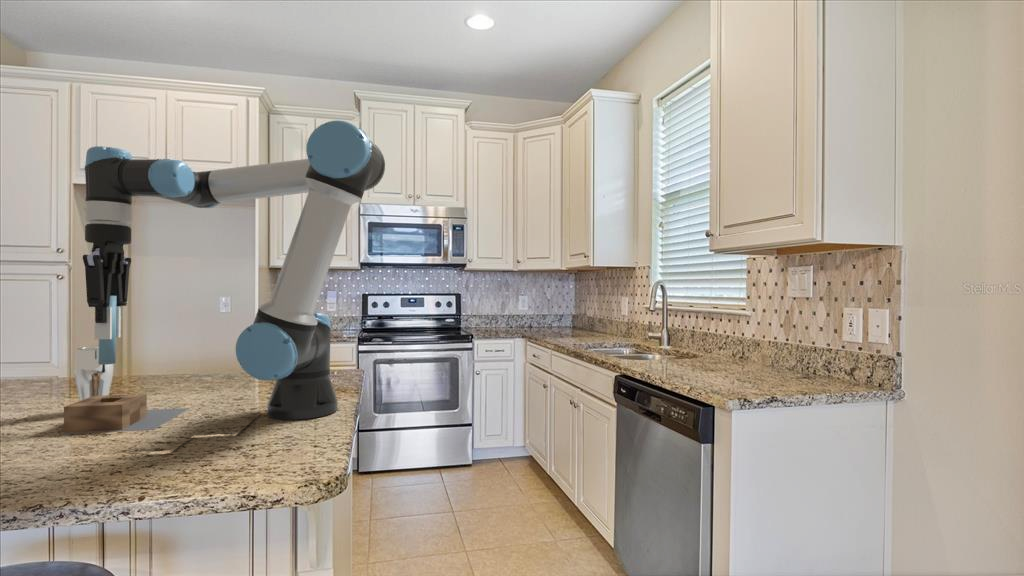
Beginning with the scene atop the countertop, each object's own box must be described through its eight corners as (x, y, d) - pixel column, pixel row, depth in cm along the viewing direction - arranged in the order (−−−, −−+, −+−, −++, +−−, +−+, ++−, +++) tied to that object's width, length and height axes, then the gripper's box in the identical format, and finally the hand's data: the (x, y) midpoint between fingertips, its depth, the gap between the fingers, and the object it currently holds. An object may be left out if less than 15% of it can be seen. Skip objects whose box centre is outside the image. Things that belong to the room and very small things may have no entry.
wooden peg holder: (146, 416, 112) (146, 394, 112) (122, 429, 102) (122, 404, 102) (93, 419, 110) (93, 395, 110) (63, 432, 100) (63, 406, 100)
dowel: (118, 362, 107) (119, 295, 107) (110, 364, 105) (111, 296, 105) (103, 362, 107) (104, 295, 107) (95, 364, 104) (96, 295, 104)
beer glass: (96, 418, 113) (96, 350, 113) (65, 417, 113) (65, 349, 113) (121, 410, 120) (121, 346, 120) (91, 409, 120) (92, 345, 120)
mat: (189, 410, 120) (190, 408, 120) (153, 432, 102) (153, 429, 102) (111, 413, 116) (111, 411, 116) (60, 437, 99) (60, 433, 99)
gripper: (109, 227, 113) (108, 334, 113) (63, 219, 97) (62, 342, 97) (147, 228, 114) (146, 334, 114) (108, 220, 99) (107, 342, 99)
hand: (107, 338), depth 106 cm, fingers closed on dowel, 3 cm apart
